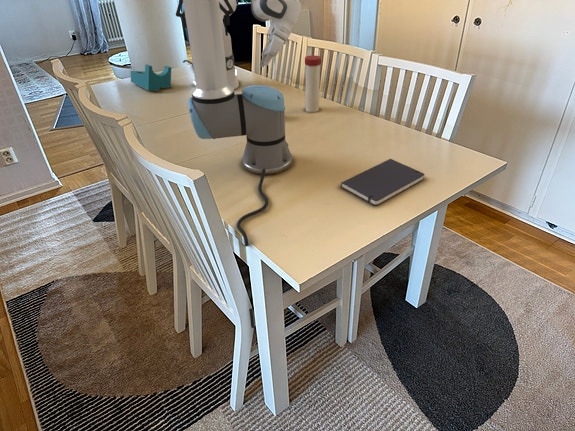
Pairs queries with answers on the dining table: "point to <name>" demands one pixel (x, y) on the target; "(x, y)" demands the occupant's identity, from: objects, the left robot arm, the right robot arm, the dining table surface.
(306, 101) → the jar
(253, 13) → the left robot arm
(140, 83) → the teal notched cradle block
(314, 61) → the lid
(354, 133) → the dining table surface
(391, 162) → the notebook
